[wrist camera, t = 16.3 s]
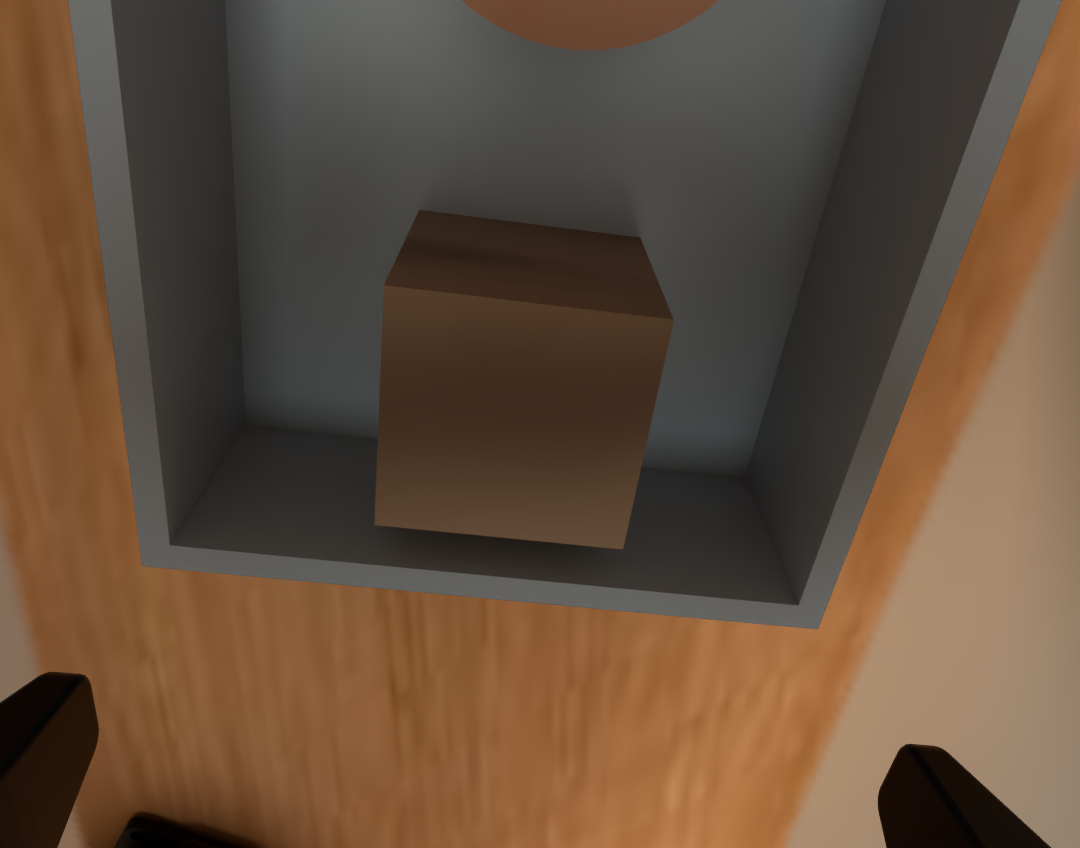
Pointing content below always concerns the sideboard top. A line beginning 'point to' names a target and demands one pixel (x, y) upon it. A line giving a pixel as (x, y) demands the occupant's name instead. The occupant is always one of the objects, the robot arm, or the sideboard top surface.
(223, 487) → the tote
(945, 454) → the sideboard top surface
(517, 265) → the walnut cube
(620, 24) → the terracotta cylinder
